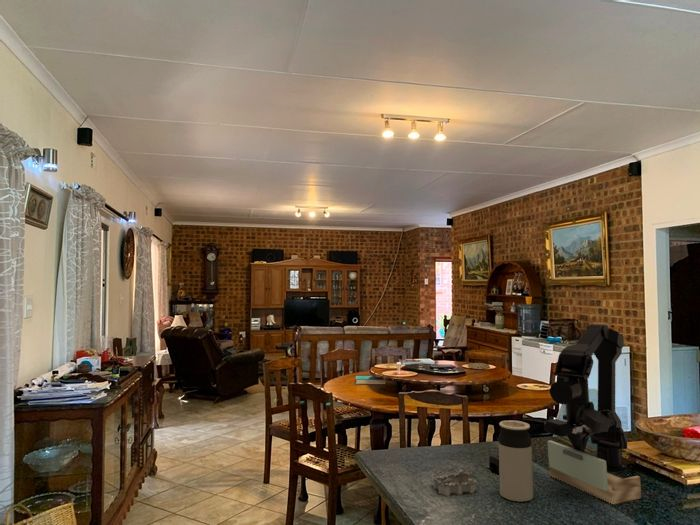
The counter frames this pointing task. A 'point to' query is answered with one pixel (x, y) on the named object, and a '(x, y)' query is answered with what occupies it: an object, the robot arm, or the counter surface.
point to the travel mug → (515, 461)
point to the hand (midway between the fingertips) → (580, 457)
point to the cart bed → (616, 491)
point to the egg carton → (455, 483)
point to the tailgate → (578, 464)
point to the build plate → (493, 464)
